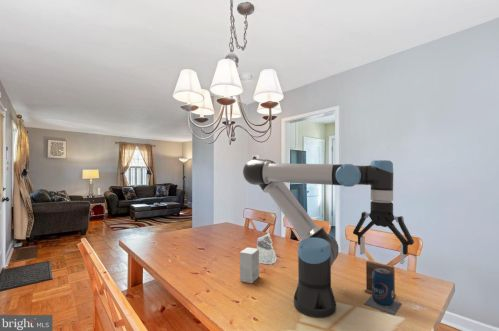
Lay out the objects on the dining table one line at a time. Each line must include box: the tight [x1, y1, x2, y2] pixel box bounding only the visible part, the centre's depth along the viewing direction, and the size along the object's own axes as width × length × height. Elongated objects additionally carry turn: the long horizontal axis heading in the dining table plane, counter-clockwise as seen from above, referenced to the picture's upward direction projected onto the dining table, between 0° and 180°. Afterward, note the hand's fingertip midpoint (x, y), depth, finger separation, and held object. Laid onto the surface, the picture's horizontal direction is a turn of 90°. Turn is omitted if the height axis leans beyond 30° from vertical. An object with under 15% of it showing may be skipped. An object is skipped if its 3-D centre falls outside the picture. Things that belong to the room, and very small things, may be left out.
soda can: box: [372, 267, 395, 307], centre depth 91 cm, size 7×7×12 cm
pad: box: [363, 294, 403, 316], centre depth 91 cm, size 10×10×1 cm
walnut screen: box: [364, 260, 397, 300], centre depth 99 cm, size 5×10×12 cm, turn 47°
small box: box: [239, 247, 260, 284], centre depth 113 cm, size 8×6×13 cm
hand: (381, 258), depth 92 cm, fingers open, 13 cm apart
